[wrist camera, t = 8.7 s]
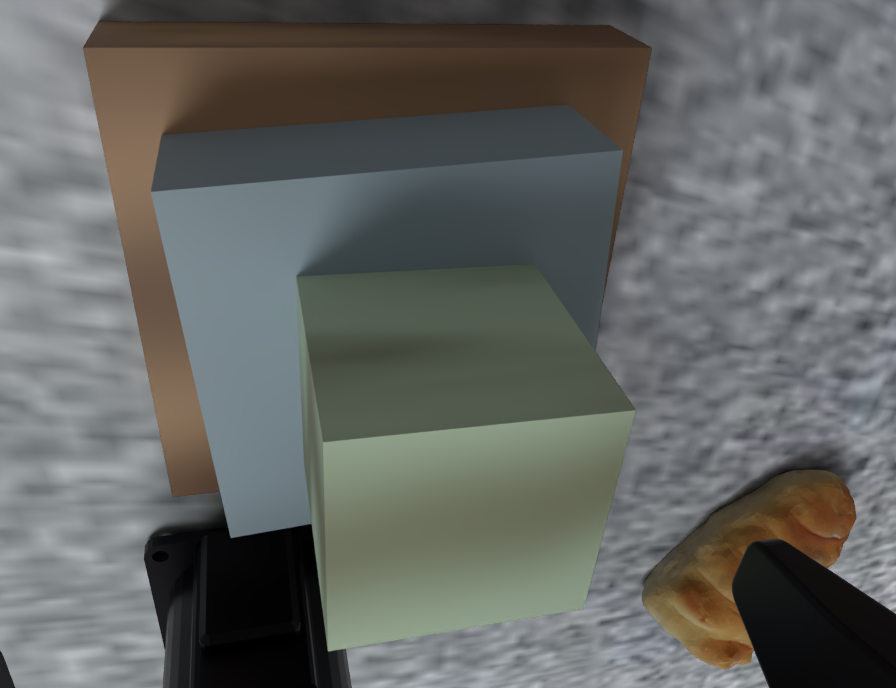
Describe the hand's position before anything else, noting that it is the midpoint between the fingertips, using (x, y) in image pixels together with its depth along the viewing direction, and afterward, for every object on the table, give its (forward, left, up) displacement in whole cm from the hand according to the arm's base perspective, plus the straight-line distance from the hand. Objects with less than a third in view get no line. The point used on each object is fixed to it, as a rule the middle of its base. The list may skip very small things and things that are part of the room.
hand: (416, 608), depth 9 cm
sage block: (-2, -2, -8) cm, 8 cm away
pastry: (-17, -17, -14) cm, 28 cm away
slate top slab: (-2, -1, -11) cm, 11 cm away
